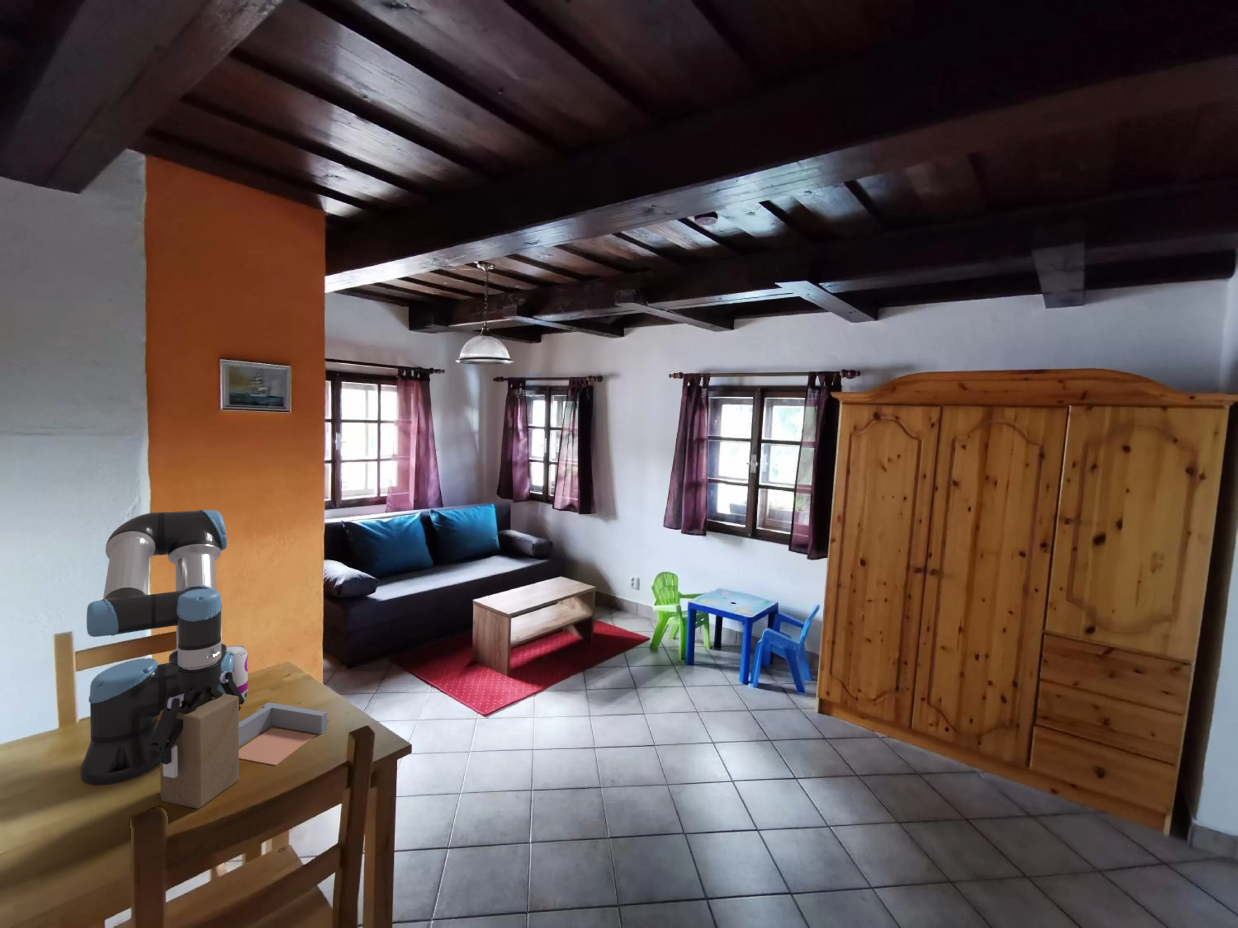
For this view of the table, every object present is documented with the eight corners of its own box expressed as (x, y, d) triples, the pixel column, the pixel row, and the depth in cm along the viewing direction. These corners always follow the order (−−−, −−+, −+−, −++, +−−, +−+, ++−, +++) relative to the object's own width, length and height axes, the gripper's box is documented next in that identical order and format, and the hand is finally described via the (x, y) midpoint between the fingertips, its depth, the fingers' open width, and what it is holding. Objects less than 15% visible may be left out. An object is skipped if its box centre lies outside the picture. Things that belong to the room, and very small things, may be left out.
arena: (207, 758, 134) (207, 738, 133) (267, 720, 151) (268, 702, 151) (272, 771, 130) (273, 750, 130) (326, 730, 148) (327, 711, 148)
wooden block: (198, 810, 117) (198, 718, 115) (159, 801, 119) (158, 710, 117) (239, 780, 127) (239, 695, 125) (203, 772, 129) (202, 688, 127)
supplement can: (245, 691, 166) (245, 642, 164) (249, 703, 159) (249, 652, 158) (211, 699, 160) (211, 648, 159) (214, 711, 154) (213, 658, 153)
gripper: (156, 691, 108) (158, 796, 109) (262, 642, 132) (262, 728, 134) (124, 686, 109) (126, 790, 111) (235, 638, 133) (235, 724, 135)
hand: (200, 756), depth 122 cm, fingers open, 13 cm apart
